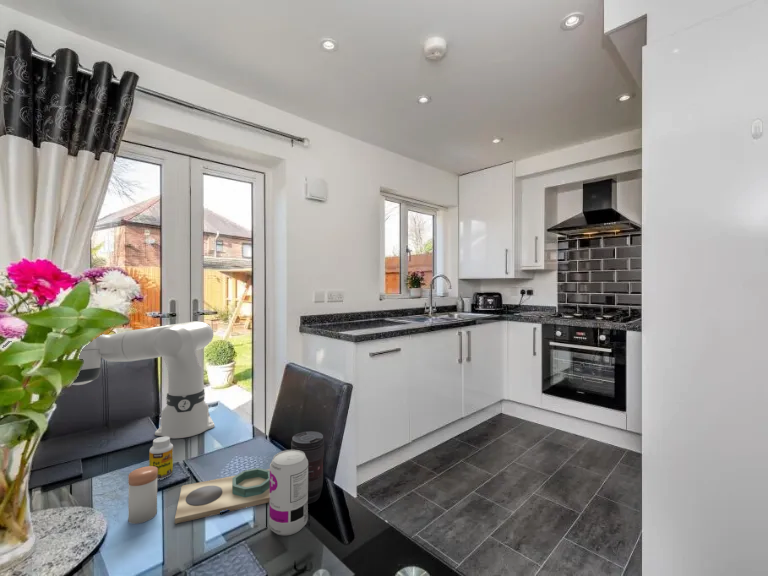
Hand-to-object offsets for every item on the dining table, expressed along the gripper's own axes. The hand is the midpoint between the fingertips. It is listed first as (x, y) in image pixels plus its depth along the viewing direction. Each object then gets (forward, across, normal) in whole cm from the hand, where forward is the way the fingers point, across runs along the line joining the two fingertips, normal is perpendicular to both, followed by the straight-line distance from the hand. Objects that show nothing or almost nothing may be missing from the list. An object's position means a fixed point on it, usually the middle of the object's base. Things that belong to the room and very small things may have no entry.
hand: (36, 370), depth 78 cm
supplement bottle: (+23, -17, -31) cm, 42 cm away
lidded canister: (+26, +1, -31) cm, 40 cm away
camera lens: (+62, +1, -26) cm, 67 cm away
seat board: (+43, -3, -28) cm, 52 cm away
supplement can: (+58, +11, -27) cm, 65 cm away
